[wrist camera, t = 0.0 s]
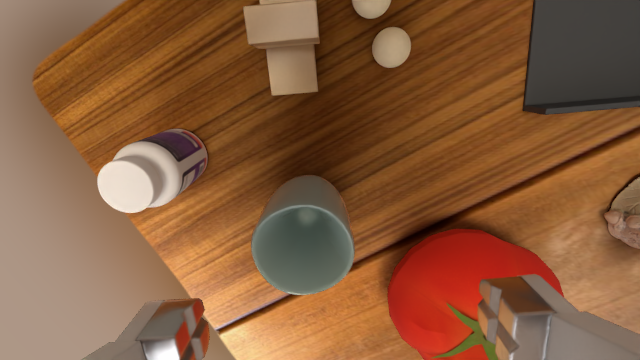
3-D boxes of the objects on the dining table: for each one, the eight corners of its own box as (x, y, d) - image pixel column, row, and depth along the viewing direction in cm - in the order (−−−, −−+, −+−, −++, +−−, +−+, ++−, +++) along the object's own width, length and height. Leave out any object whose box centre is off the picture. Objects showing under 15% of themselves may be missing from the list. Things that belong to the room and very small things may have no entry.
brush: (254, -28, 27) (233, -60, 21) (313, -34, 27) (310, -68, 21) (270, 94, 30) (256, 100, 24) (323, 90, 30) (323, 93, 24)
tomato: (417, 191, 33) (455, 238, 24) (552, 248, 35) (635, 312, 26) (357, 300, 37) (369, 376, 28) (480, 345, 39) (530, 431, 30)
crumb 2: (369, 31, 29) (374, 26, 26) (405, 28, 29) (415, 22, 26) (370, 69, 30) (375, 69, 27) (405, 66, 30) (415, 65, 27)
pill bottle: (145, 135, 32) (72, 159, 22) (198, 122, 31) (145, 141, 22) (166, 186, 33) (106, 229, 24) (216, 174, 33) (174, 213, 24)
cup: (327, 153, 32) (328, 186, 23) (357, 219, 34) (371, 274, 25) (257, 184, 33) (230, 228, 24) (291, 246, 35) (279, 309, 26)
